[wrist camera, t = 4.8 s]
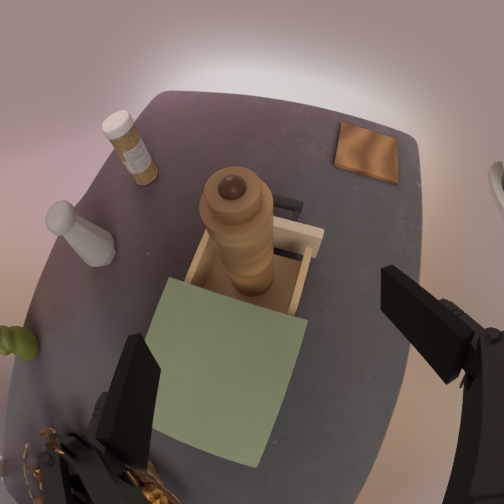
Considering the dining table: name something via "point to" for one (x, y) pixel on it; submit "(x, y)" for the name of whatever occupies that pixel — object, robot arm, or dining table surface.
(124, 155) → the spice jar
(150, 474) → the food dish
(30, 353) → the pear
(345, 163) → the square wooden board
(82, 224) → the salt shaker
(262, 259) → the pepper mill
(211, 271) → the drawer
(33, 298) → the dining table surface
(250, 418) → the cabinet
